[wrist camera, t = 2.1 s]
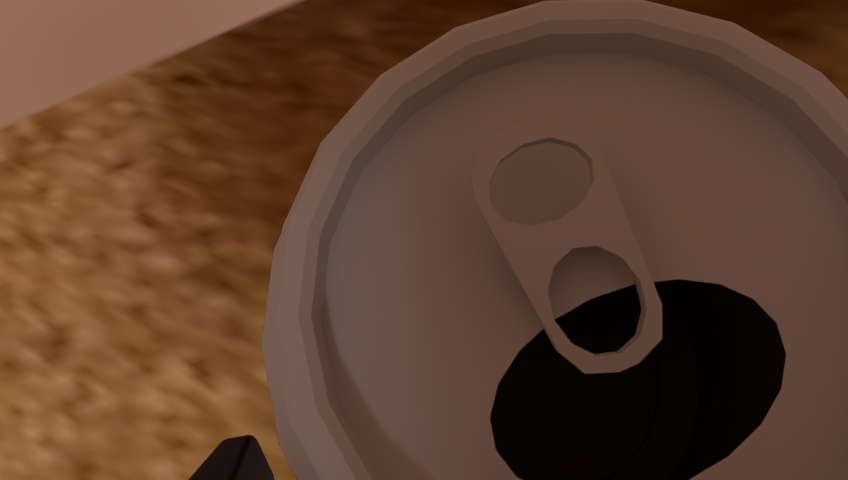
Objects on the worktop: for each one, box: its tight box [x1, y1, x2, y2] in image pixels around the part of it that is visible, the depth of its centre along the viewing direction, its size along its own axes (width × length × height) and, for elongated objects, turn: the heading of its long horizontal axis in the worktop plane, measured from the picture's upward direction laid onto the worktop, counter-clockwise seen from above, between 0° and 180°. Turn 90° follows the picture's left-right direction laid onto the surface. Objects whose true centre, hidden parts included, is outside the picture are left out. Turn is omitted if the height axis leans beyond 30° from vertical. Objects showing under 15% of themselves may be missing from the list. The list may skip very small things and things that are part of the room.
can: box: [261, 0, 848, 480], centre depth 12 cm, size 8×8×12 cm
